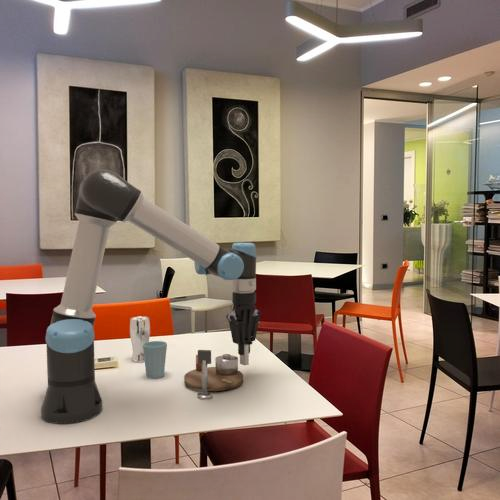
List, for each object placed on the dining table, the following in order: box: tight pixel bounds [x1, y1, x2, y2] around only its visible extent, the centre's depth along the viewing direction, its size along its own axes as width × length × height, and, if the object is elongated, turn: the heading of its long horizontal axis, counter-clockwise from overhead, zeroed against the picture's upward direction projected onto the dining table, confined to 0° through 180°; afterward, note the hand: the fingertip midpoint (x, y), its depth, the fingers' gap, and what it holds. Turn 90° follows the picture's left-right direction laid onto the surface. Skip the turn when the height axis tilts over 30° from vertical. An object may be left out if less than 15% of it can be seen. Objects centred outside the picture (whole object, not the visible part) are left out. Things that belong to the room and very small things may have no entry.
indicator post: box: [196, 349, 213, 401], centre depth 146 cm, size 4×4×13 cm
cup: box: [143, 340, 168, 379], centre depth 165 cm, size 8×8×10 cm
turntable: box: [183, 354, 244, 392], centre depth 158 cm, size 18×18×6 cm
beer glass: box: [129, 315, 151, 363], centre depth 183 cm, size 7×7×15 cm
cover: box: [214, 353, 239, 376], centre depth 161 cm, size 7×7×6 cm
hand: (244, 364), depth 166 cm, fingers closed
